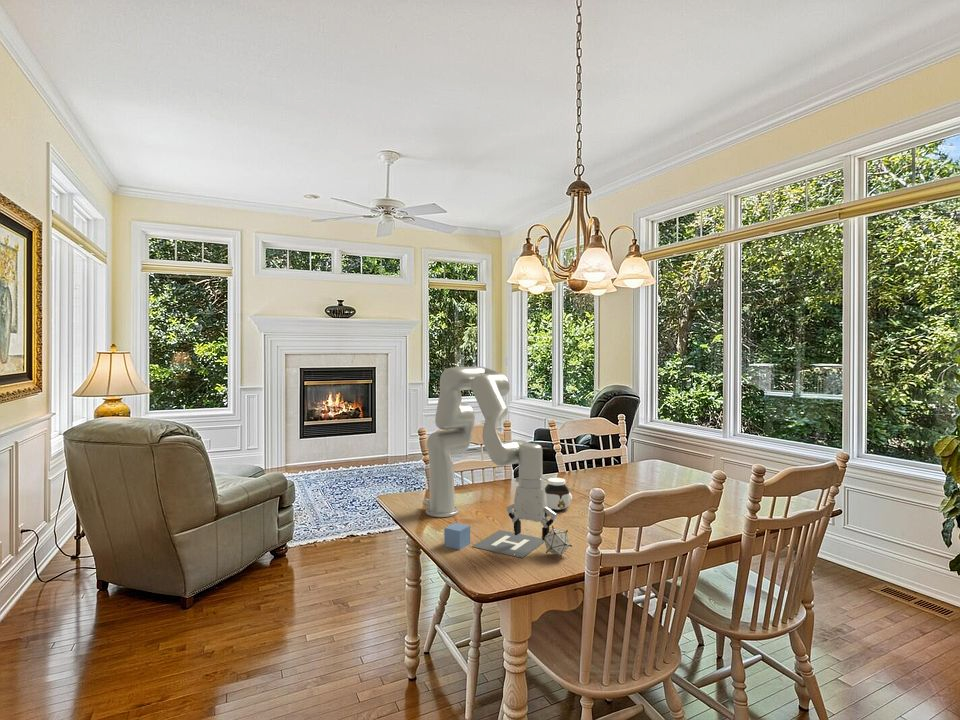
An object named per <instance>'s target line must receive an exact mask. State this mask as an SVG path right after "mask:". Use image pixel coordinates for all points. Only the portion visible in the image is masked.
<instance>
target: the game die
mask: <svg viewBox="0 0 960 720" xmlns="http://www.w3.org/2000/svg"><path fill="white" fill-rule="evenodd" d="M551 528H552V529H551V530H549V533H548V534H547V535H546V536H545V537H543V536H542V535H541V536H540V538H544V541H545V542H544V544H545V547H546V551H545V554H548V553H551V554H554V555H557V556H559V558H561V559H562V558H563V556H562V555H563V554H564V553H565V552H566V551H567V549H568V548H570V547H573V545H572V544H570V540H569V537H568V534H567V533H569V530H567V529H566V530H565V531H564V530H560V529H558V528H554V525H551Z"/></svg>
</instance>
